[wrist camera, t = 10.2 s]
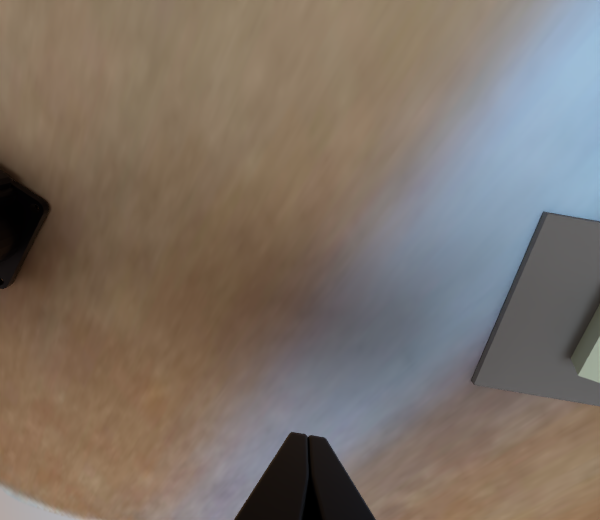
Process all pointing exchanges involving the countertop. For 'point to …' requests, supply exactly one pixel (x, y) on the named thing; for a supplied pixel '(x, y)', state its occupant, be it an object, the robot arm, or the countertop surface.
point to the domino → (589, 351)
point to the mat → (547, 314)
